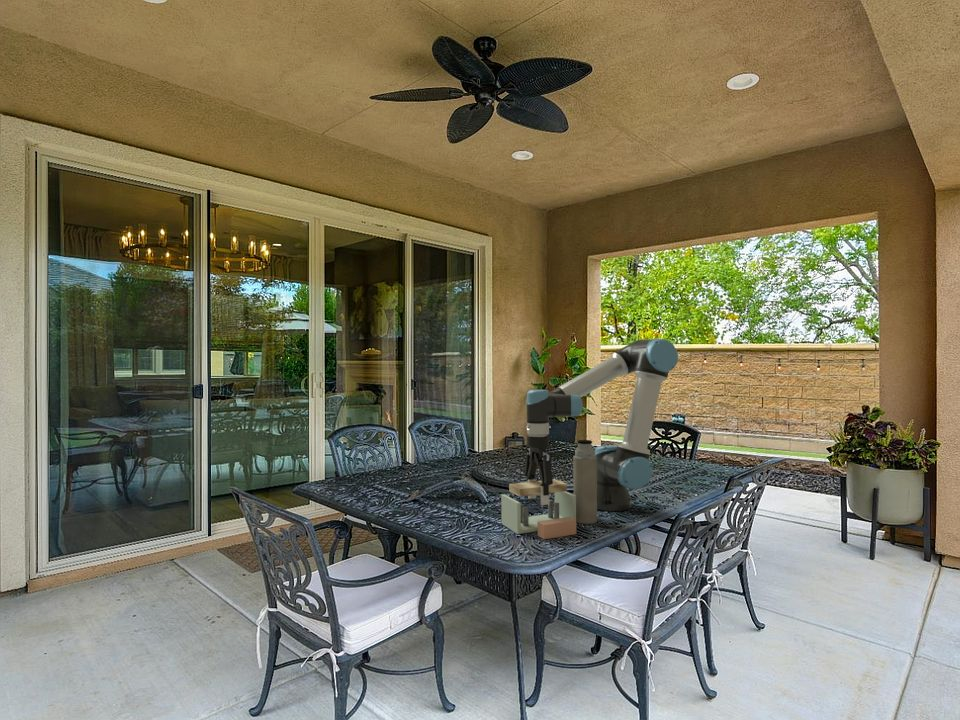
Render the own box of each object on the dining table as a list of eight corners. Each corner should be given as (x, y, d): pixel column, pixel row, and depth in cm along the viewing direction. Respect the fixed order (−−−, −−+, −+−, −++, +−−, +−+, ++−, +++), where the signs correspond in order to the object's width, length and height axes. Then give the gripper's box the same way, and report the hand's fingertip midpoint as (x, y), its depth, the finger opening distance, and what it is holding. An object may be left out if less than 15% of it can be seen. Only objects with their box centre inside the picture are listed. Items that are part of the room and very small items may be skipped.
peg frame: (557, 515, 196) (557, 487, 196) (576, 524, 185) (575, 495, 185) (501, 523, 187) (501, 494, 187) (517, 534, 176) (517, 503, 176)
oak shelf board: (554, 485, 193) (554, 478, 193) (566, 491, 186) (566, 483, 186) (509, 491, 186) (509, 484, 186) (520, 496, 178) (520, 489, 178)
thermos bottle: (571, 517, 194) (571, 438, 193) (593, 516, 194) (593, 438, 194) (576, 524, 186) (575, 442, 185) (599, 523, 186) (598, 442, 186)
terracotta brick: (569, 530, 179) (569, 516, 179) (576, 534, 175) (576, 520, 175) (537, 535, 174) (537, 521, 174) (543, 539, 171) (543, 525, 171)
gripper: (514, 431, 194) (514, 495, 194) (543, 440, 174) (544, 510, 175) (532, 430, 197) (533, 493, 197) (563, 438, 177) (564, 507, 178)
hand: (538, 501), depth 186 cm, fingers closed on oak shelf board, 8 cm apart
